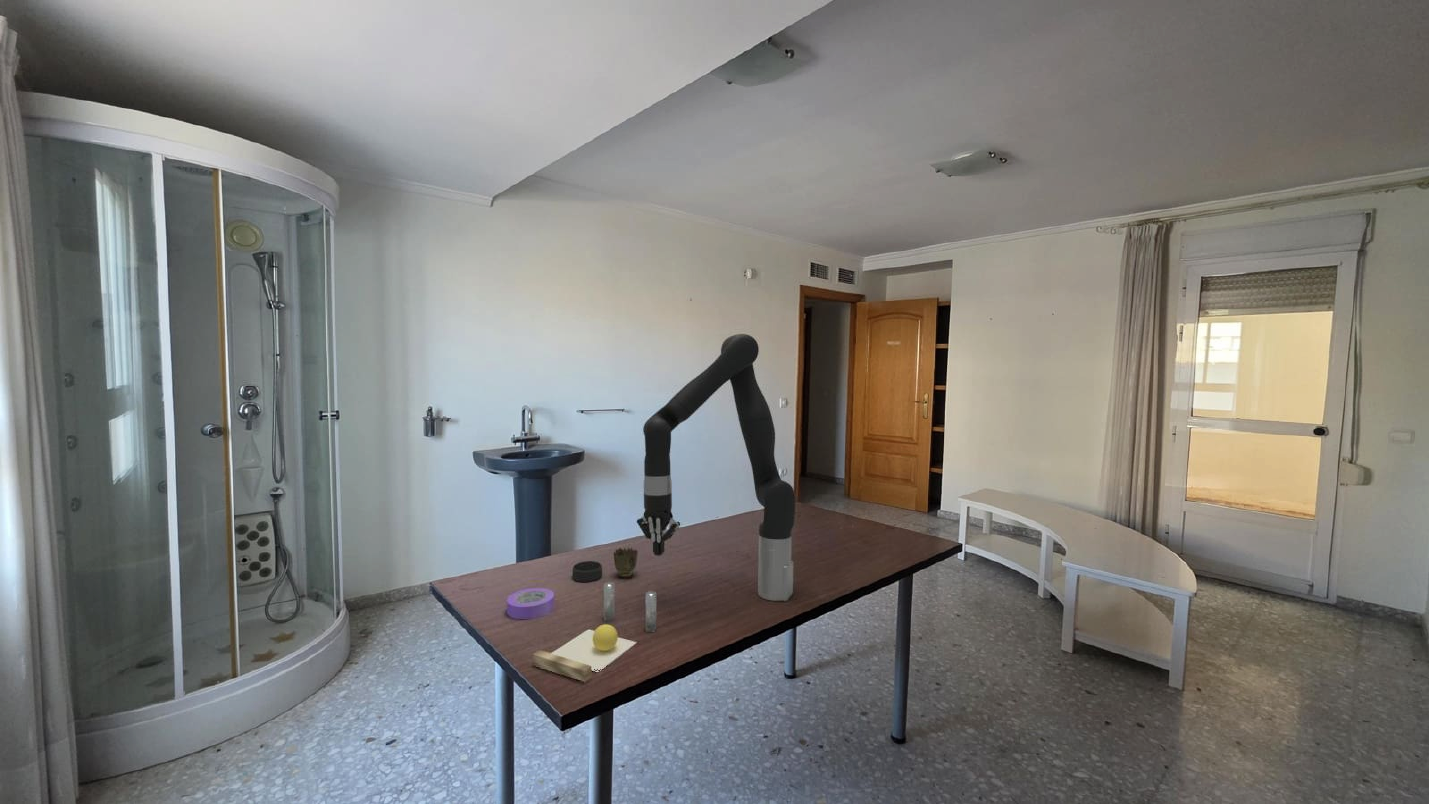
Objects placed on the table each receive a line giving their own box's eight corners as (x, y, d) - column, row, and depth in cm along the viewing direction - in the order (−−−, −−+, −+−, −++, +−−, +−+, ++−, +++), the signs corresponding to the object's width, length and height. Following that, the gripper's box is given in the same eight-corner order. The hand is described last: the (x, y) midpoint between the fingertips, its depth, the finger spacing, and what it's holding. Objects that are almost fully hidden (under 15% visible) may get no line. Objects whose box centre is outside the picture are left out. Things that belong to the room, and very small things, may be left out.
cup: (632, 581, 156) (632, 555, 156) (609, 579, 158) (609, 553, 157) (640, 573, 163) (640, 548, 163) (618, 571, 165) (619, 546, 165)
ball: (607, 644, 111) (614, 658, 114) (617, 621, 116) (624, 635, 119) (585, 640, 113) (592, 654, 116) (596, 617, 117) (602, 631, 120)
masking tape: (535, 623, 129) (535, 608, 129) (497, 617, 132) (497, 602, 132) (562, 604, 140) (562, 590, 140) (526, 599, 144) (526, 585, 143)
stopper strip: (591, 678, 105) (591, 666, 105) (584, 683, 103) (584, 671, 103) (539, 661, 111) (539, 650, 111) (532, 666, 109) (532, 654, 109)
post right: (658, 628, 126) (658, 592, 126) (652, 633, 124) (652, 596, 124) (649, 626, 127) (649, 590, 127) (643, 630, 125) (643, 594, 125)
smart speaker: (599, 583, 156) (599, 570, 155) (569, 583, 155) (569, 570, 155) (603, 572, 164) (603, 560, 164) (575, 573, 164) (575, 560, 164)
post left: (616, 618, 132) (616, 583, 132) (609, 622, 129) (610, 586, 129) (608, 616, 133) (608, 581, 133) (601, 620, 131) (601, 585, 130)
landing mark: (636, 643, 119) (636, 642, 119) (597, 673, 106) (597, 672, 106) (588, 630, 125) (588, 629, 125) (546, 657, 113) (546, 656, 113)
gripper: (686, 490, 140) (686, 554, 140) (645, 486, 145) (645, 547, 146) (671, 496, 133) (672, 562, 134) (629, 492, 139) (630, 555, 139)
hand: (658, 554), depth 140 cm, fingers closed
